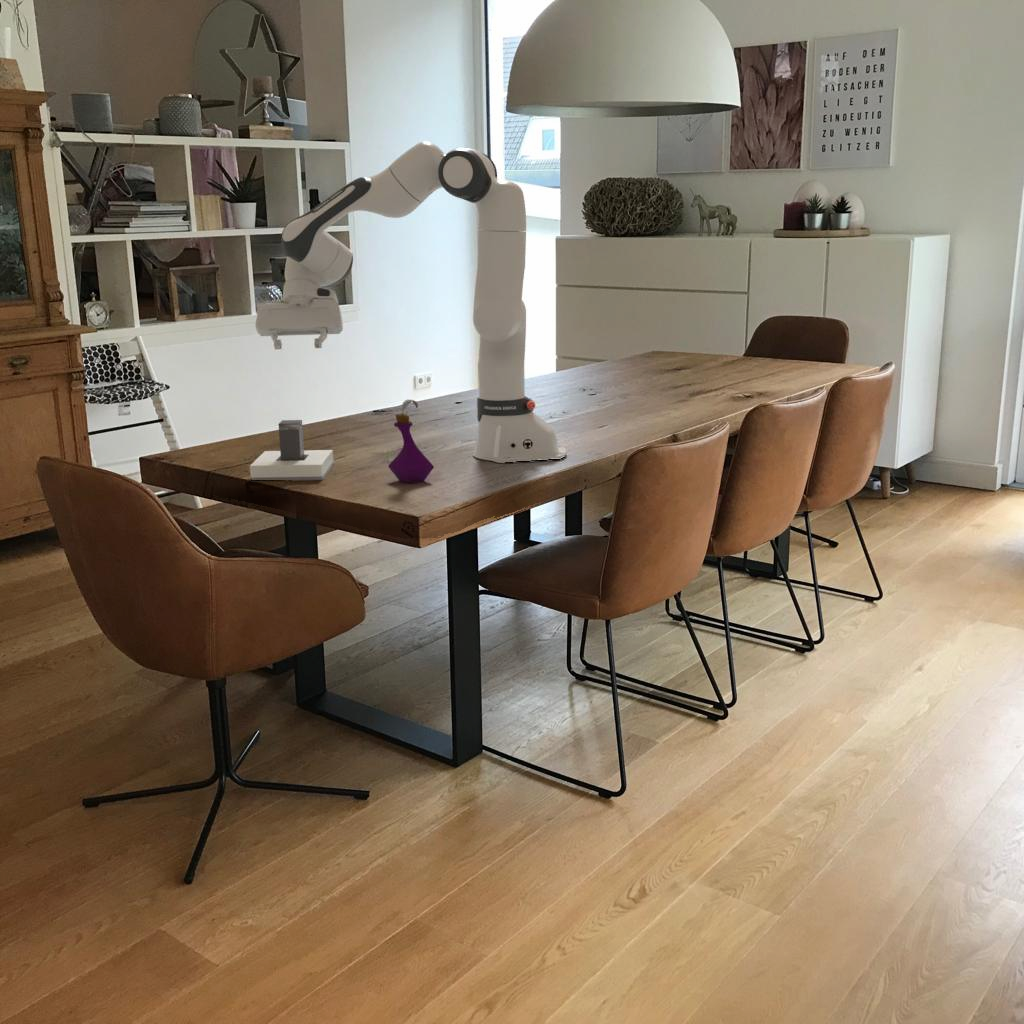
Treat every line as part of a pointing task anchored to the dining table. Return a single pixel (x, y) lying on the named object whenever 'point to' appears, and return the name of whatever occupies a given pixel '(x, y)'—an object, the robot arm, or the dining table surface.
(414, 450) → the perfume bottle
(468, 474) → the dining table surface
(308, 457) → the socket block
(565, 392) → the dining table surface
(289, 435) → the plug
